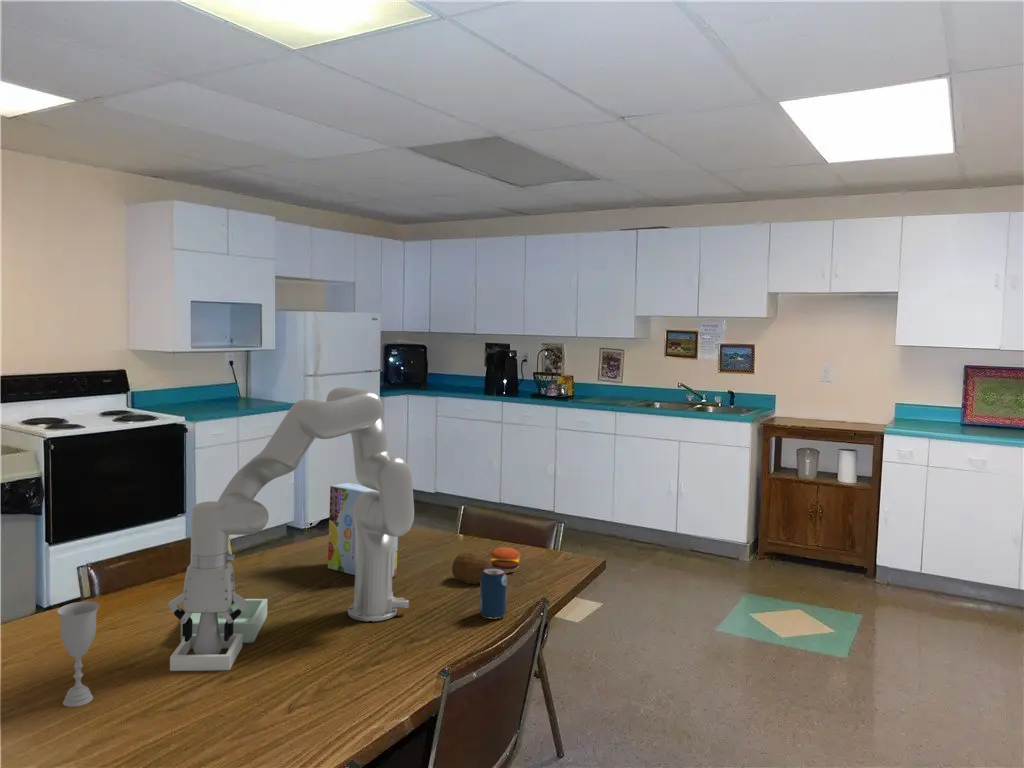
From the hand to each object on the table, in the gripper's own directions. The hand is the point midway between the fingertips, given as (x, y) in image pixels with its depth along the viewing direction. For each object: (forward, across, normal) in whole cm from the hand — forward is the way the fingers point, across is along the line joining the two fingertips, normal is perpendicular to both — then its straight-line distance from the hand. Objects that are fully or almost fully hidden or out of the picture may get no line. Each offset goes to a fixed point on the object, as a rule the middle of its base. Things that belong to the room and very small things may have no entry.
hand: (208, 638), depth 163 cm
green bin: (+4, 0, -16) cm, 17 cm away
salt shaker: (+5, 0, 0) cm, 5 cm away
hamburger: (+5, -73, -63) cm, 97 cm away
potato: (+5, -61, -50) cm, 79 cm away
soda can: (+5, -65, -24) cm, 69 cm away
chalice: (+5, +19, +18) cm, 27 cm away
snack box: (+5, -29, -59) cm, 66 cm away
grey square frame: (+4, 0, 0) cm, 4 cm away
